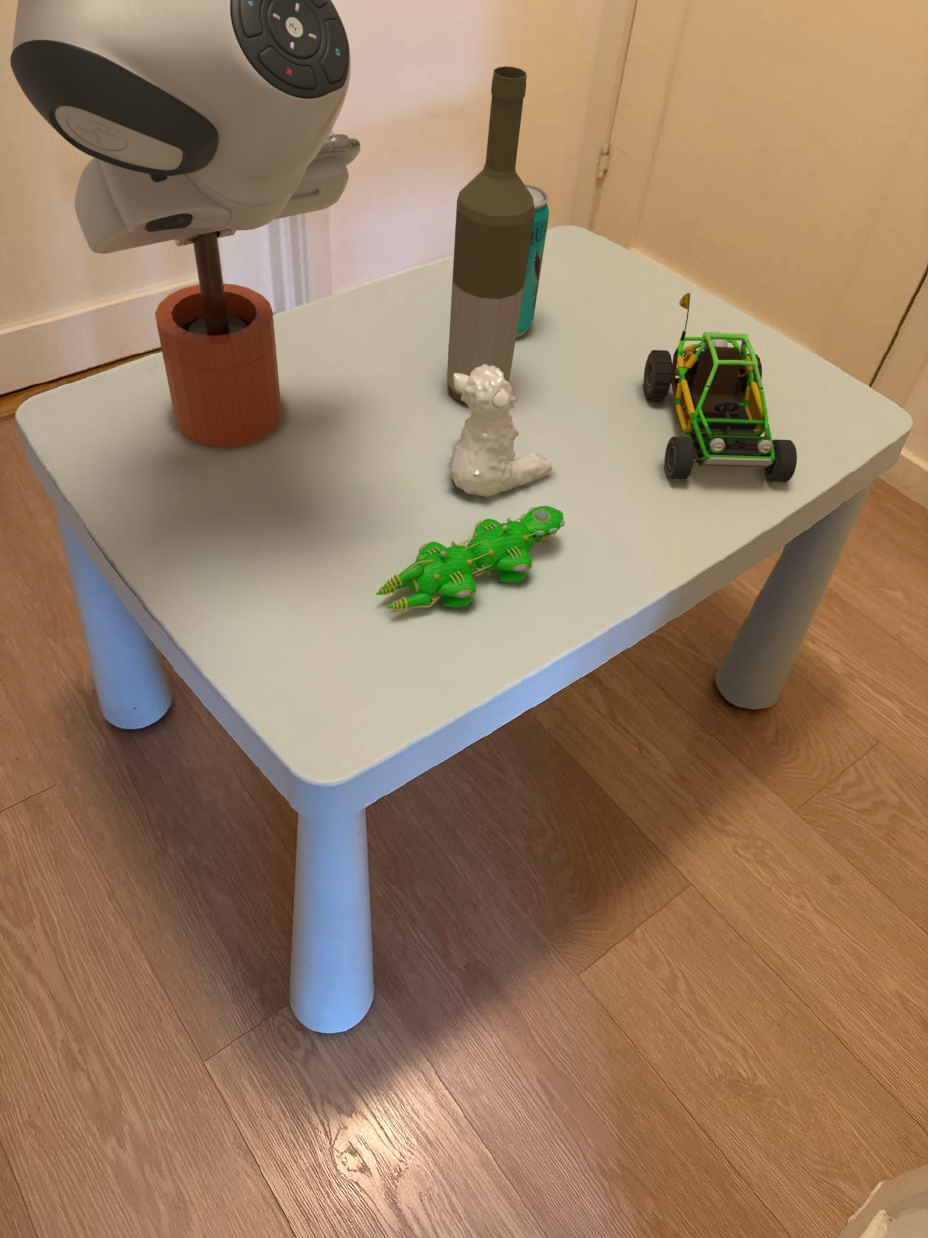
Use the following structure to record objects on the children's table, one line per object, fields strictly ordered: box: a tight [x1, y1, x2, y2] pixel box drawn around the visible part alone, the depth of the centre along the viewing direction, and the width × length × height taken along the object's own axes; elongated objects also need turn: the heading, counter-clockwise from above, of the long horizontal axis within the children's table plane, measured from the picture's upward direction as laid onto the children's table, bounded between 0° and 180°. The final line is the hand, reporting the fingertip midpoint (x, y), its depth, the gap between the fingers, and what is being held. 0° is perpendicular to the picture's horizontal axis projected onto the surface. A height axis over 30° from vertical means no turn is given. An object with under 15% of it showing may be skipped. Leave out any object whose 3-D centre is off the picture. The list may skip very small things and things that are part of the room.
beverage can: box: [516, 183, 550, 339], centre depth 98 cm, size 6×6×15 cm
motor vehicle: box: [643, 292, 798, 483], centre depth 90 cm, size 12×19×11 cm, turn 3°
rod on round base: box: [188, 231, 247, 336], centre depth 77 cm, size 5×5×24 cm
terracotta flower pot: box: [154, 283, 282, 448], centre depth 86 cm, size 10×10×11 cm
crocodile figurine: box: [375, 505, 566, 611], centre depth 77 cm, size 7×18×4 cm, turn 124°
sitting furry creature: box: [448, 364, 553, 498], centre depth 82 cm, size 10×9×12 cm
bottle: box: [446, 65, 535, 404], centre depth 84 cm, size 7×7×30 cm
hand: (201, 231), depth 76 cm, fingers closed on rod on round base
